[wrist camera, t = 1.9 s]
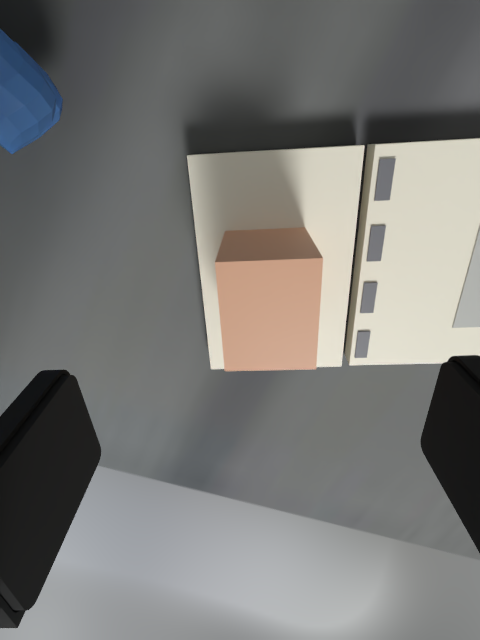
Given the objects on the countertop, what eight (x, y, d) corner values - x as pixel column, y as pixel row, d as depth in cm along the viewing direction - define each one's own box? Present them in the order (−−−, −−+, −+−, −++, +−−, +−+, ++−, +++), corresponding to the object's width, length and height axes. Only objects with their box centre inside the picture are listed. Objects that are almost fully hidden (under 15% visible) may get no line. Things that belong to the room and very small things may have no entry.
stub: (357, 144, 16) (410, 147, 11) (337, 355, 22) (364, 427, 16) (191, 154, 17) (160, 161, 11) (213, 358, 22) (199, 429, 17)
